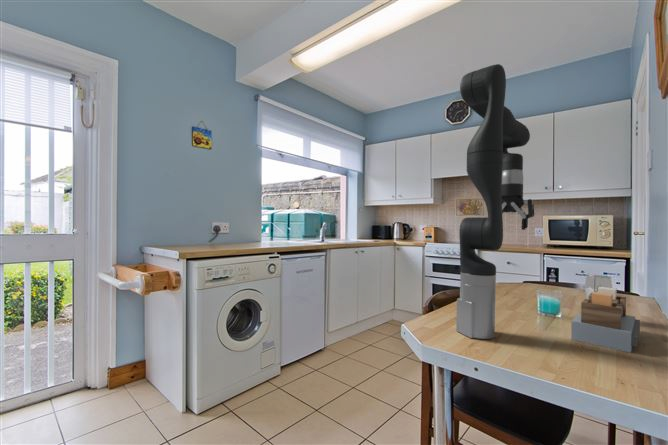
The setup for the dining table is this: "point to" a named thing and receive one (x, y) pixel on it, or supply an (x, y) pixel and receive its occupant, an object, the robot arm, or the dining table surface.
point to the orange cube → (602, 298)
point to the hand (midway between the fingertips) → (509, 229)
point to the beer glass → (596, 283)
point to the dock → (607, 333)
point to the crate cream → (608, 291)
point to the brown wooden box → (603, 313)
